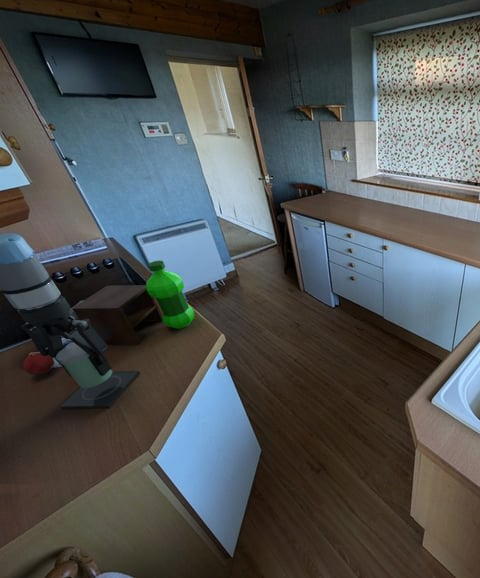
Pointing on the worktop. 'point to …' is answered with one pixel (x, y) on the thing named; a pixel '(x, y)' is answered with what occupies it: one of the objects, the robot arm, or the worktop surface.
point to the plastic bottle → (169, 296)
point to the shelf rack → (119, 312)
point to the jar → (80, 366)
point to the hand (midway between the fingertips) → (91, 372)
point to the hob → (102, 392)
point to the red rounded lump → (38, 363)
